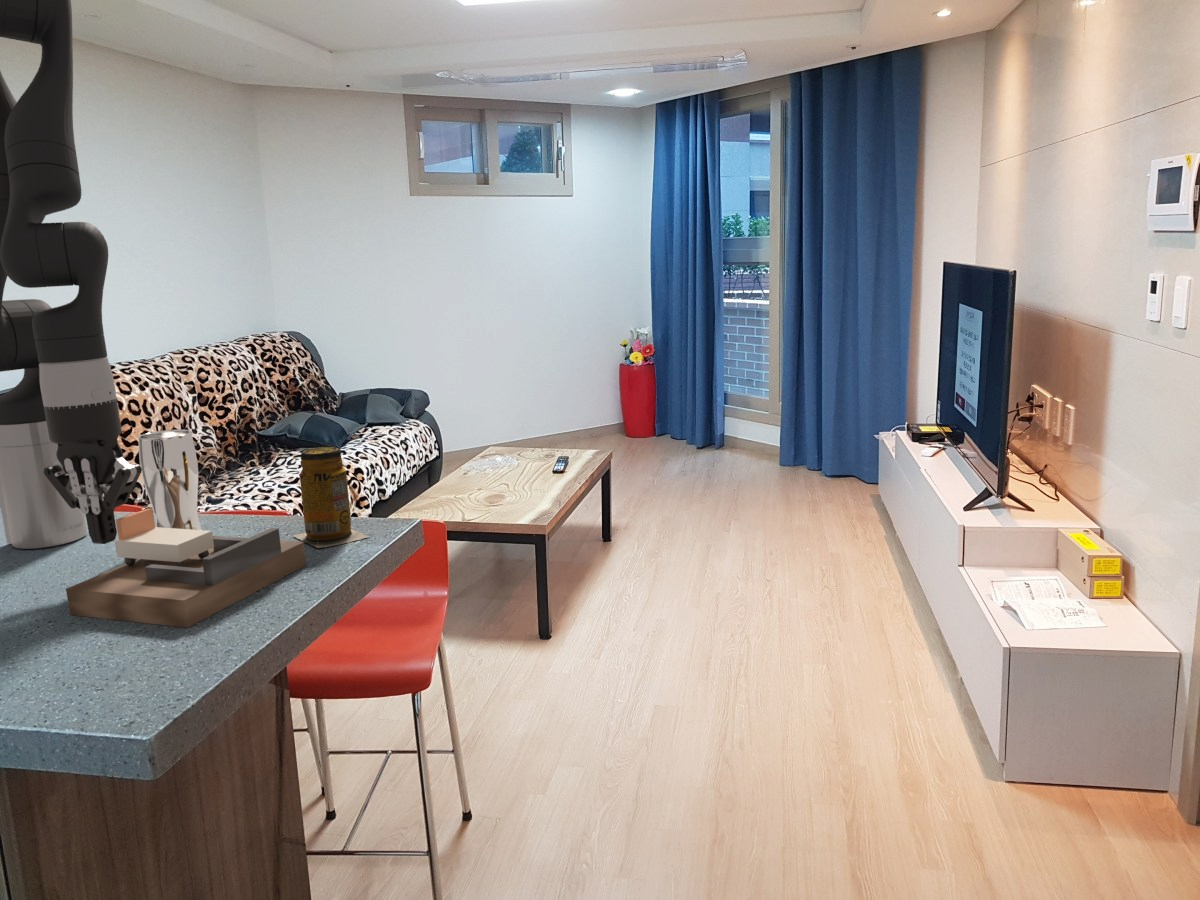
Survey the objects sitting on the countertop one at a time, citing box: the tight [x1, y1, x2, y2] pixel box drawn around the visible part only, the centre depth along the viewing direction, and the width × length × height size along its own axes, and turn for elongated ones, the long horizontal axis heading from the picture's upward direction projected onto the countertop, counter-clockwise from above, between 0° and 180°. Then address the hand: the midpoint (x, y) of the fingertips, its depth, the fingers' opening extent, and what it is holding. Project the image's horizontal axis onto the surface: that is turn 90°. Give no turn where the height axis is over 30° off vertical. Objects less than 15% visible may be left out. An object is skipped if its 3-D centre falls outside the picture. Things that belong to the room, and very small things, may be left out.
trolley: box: [114, 507, 214, 567], centre depth 109 cm, size 9×6×6 cm, turn 71°
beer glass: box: [137, 429, 203, 530], centre depth 126 cm, size 7×7×15 cm
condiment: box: [292, 446, 370, 549], centre depth 126 cm, size 7×8×12 cm
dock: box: [65, 527, 307, 629], centre depth 108 cm, size 16×20×6 cm
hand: (104, 541), depth 112 cm, fingers closed
